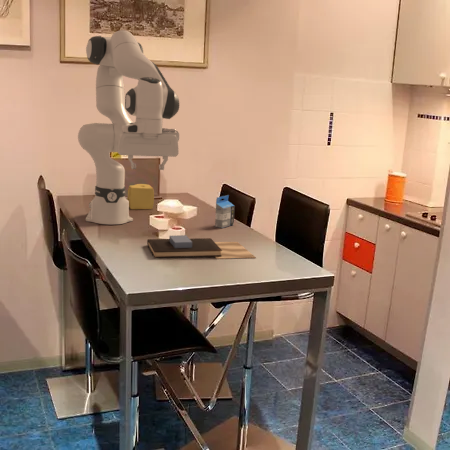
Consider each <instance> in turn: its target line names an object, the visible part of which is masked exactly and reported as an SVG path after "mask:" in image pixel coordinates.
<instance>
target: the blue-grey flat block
mask: <svg viewBox="0 0 450 450" xmlns="http://www.w3.org/2000/svg"><path fill="white" fill-rule="evenodd" d="M168 239H169V241H170V243H171V244H172V245H173V246H174V248H192V241H191V240H190V239H191V238H189V237H188V235H187V234H186V235H183V234H181V235H169V238H168Z"/></svg>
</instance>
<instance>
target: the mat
mask: <svg viewBox="0 0 450 450" xmlns="http://www.w3.org/2000/svg"><path fill="white" fill-rule="evenodd" d="M214 242H215V243H216V244H217V245H218V247H219V248H220V249H221V250H222V251H221V255H222V256H220V257H215V259H216V260H224V259H225V260H228V259H230V260H231V258H237V259H238V258H239V259H256V256H255V255H254V254H253V253H251V252H250V251H249V250H248V249H246V248H245V247H244V246H243V245H242V244H240V242H238V241H214ZM239 259H238V260H239Z"/></svg>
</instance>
